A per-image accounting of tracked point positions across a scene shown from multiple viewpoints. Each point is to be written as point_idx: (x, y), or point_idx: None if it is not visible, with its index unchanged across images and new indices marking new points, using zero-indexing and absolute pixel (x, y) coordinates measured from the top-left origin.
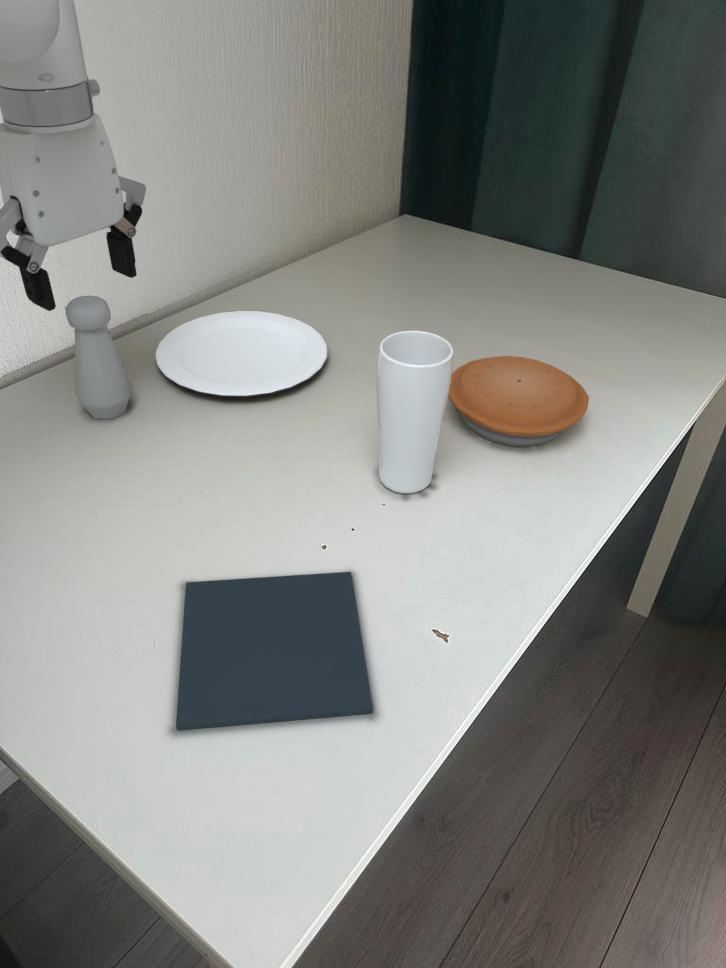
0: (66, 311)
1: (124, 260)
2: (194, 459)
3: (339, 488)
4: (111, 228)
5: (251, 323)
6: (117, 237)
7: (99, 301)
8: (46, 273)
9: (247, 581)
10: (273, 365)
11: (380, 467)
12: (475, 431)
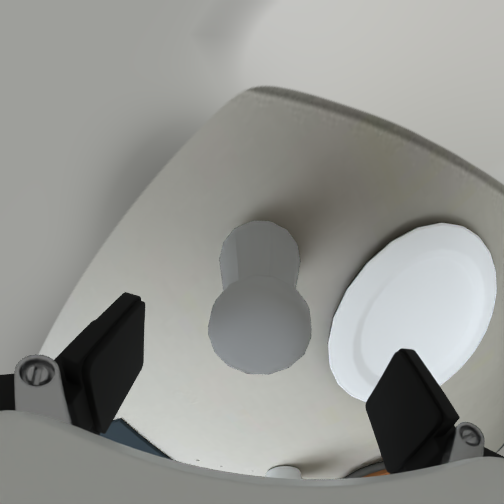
0: (216, 309)
1: (381, 425)
2: (228, 379)
3: (254, 456)
4: (442, 452)
5: (478, 295)
6: (415, 456)
7: (276, 366)
8: (99, 434)
9: (143, 443)
10: None
11: (272, 476)
12: (347, 477)
